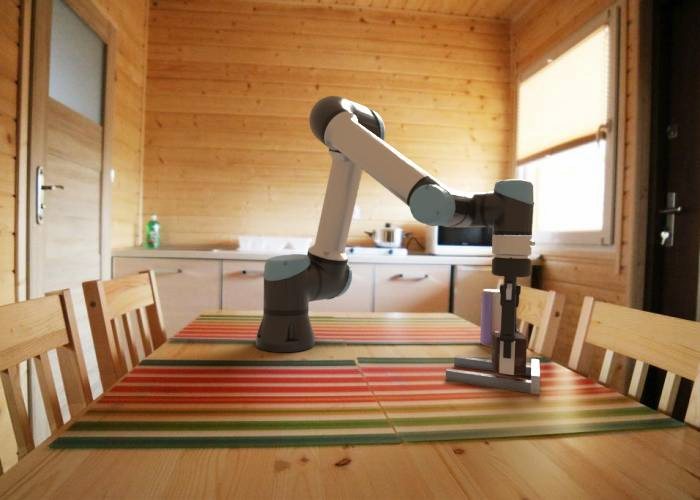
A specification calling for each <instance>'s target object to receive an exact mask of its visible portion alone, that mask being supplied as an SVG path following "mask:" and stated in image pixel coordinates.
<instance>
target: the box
mask: <svg viewBox="0 0 700 500" xmlns="http://www.w3.org/2000/svg"><path fill="white" fill-rule="evenodd" d="M504 334H507V333H504ZM500 335H501V331H492V347H491V360H492V363H491V364H492V366H493V368H494V371H495V372H494V373H497V374H500V373H499V364H500V341H497V337H500ZM514 337H515V357H514V374H520V375H519V376H521V374H522V375H525V374H526V365H527V352H528V351H527V348H528V345H527V343H528V339H527V338H526V336H525V335H524V334H523V333H522V332H515V334H514Z"/></svg>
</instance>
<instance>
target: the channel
mask: <svg viewBox="0 0 700 500" xmlns="http://www.w3.org/2000/svg"><path fill="white" fill-rule="evenodd" d="M453 358H454V360H453V361H454V363H453V364H454V365H453V366H454V367H459V368H467V369H474V370H480V371H485V372H486V371H487V372H492V373H496V372H495V371H494V368H493V366H492V364H491V363H492V359H483V358H476V357H469V356H461V355H455V356H454V357H453ZM530 360H531V363H530V365H529V364H526V374H525V375H522V374H521V375H520V374H514V375H516V376H523V377H529V378H530V379H529V380H528V379H523V378H516V377H509V376H501V375H496V374H488V373H481V372H476V371H467V370H461V369H455V368H454V369H453V368H446V370H445V381H448V382H456V383H462V384H469V385H474V386H479V387H480V386H481V387H488V388H494V389H500V390H506V391H507V390H508V391H513V392H519V393H520V392H521V393H525V394H531V395H532V394H533V395H540V387H541V369H540V359H536V358H531V359H530ZM514 375H513V376H514Z"/></svg>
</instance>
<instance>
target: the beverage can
mask: <svg viewBox="0 0 700 500" xmlns="http://www.w3.org/2000/svg"><path fill="white" fill-rule="evenodd" d="M500 297H501V294H500V288H499V289H497V288H484V289H482V293H481V309H480V337H479V341H480V344H481V345H482V346H485V347H491V348H492V331H501V312H502V307H501V305H500Z"/></svg>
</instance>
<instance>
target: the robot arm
mask: <svg viewBox="0 0 700 500" xmlns="http://www.w3.org/2000/svg"><path fill="white" fill-rule="evenodd" d="M308 119H309V120H308V121H309V122H308V123H309V127H310V131H311V132H312V134H313V136H314V137H315V138H316V139H317V140H319V141H320V142H321V143H322V144H323V145H324V146H326V147H327V148H328V154H329V155H330V157H331V160H332V161H331V165H330V170H329V171H330V172H329V175H328V179H327V185H326V189H325V194H324V199H323V204H322V209H321V214H320V218H319V222H318V223H319V224H318V228H317V232H316V236H315V242H314V244H313V245H312V246H311V247H309V248H308V250H307V253H306V254H304V253H303V254H300V253H299V254H297V253H295V254H293V253H292V254H282V255H276V256H272V257H269V258H268V259H267V260H266V261H265V263H264V269H263V270H264V271H263V275H262V277H263V310H262V311H263V313H262V319H261V322H260V324H259V326H258V330H257V334H256V336H255V337H256V338H255V347H256V348H258V349H259V350H262V351H267V352H273V353H292V352H293V353H295V352H302V351H306V350H308V349H312V348H313V347H314V346H315V343H316V342H315V341H316V340H315V337H316V336H315V334H314V329H313V326H312V323H311V320H310V317H309V307H310V306H309V305H310V304H309V303H311V302H316V301H323V300H327V301H328V300H334V299H335V298H338V297H341V296H343V295H344V294H346V292H347V291H348V290H349V288H350V286H351V283H352V280H353V271H352V270H351V265H350V264H349V255H348V254H347V252H346V245H347V242H348V238H349V233H350V228H351V223H352V220H353V216H354V211H355V206H356V202H357V197H358V193H359V188H360V184H361V179H362V175H363V172H365V173H366V174H368V175H369V176H370V177H371V178H373V179H374V180H375V181H377V182H378V183H379V184H380V185H381V186H383V188H385V189H386V190H388V192H390V193H391V194H393V195H394V196H395V197H396V198H397V199H399V200H400V201H402V203H404V204H405V205H406V206H408V207H409V210H410V213H411V215H412V217H413V218H414V219H415V220H416V221H417V222H419V223H421V224H423V225H427V226H429V227H437V226H438V227H439V226H441V227H446V228H454V229H460V228H492V238H491V239H492V240H491V243H492V245H491V249H492V250H491V254H492V255H494V257H493V258H492V259H491V274H492V275H493V276H496V277H504V278H503V283H501V284H500V285H499V290H500V294H501V297H500V305H501V307H502V312H501V335H500V337H497V341H500V364H499V373H498V374H504V375H510V376H511V375H512V376H514V357H515V337H514V334H515V332H520V331H521V329H520V328H517V327H518V324H517V313H518V312H517V311H518V309H517V308H519V304H520V296H521V291H522V285H521V284H519V283H518V278H529V277H531V274H532V260H531V258H529V256H530V257H531V255H532V247H531V246H535V245H536V241H535V240H532V238H533V223H534V220H533V219H534V206H535V202H534V184H533V183H532V182H531V181H529V180H527V179H504V180H498V181H496V182H495V184H494V188H493V190H491V191H487V192H485V191H483V192H482V191H481V192H478V191H477V192H469V191H468V192H467V191H462V190H458V189H454V188H450V187H447V186H446V185H445V184H443V183H442V182H440V181H439V180H438V179H436V178H434V177H433V176H432V175H431V174H430V173H428V172H426V171H425V170H424V169H422V168H421V167H420V166H418V165H416V164H415V163H414V162H413V161H412V160H410V159H408V158H407V157H406V156H404V155H403V154H401V153H400V152H399V151H397V150H396V149H395V148H393V147H392V146H391V145H389V143H387V142H385V141H384V140H385V137H386V127H385V123H384V121H383V119H382V117H381V115H380V114H379V113H377V111H374V110H373V109H371V108H370V107H368V106H364V105H362V104H360V103H356V102H354V101H352V100H348V99H346V98H344V97H341V96H338V95H329V96H325V97H322V98H321V99H319V100H318V101H316V103H315V104H314V105H313V106H312V107H311V110H310V113H309V118H308ZM504 333H507V334H504ZM520 333H521V332H520Z"/></svg>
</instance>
